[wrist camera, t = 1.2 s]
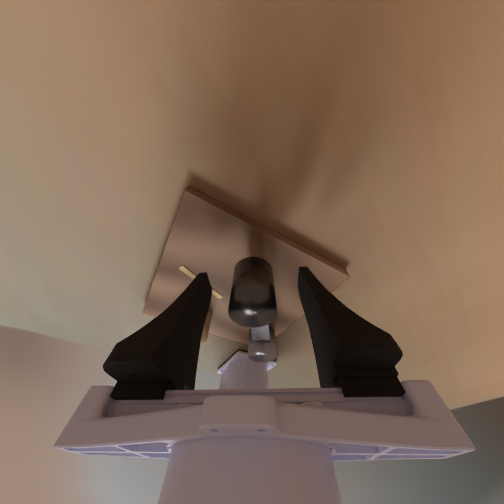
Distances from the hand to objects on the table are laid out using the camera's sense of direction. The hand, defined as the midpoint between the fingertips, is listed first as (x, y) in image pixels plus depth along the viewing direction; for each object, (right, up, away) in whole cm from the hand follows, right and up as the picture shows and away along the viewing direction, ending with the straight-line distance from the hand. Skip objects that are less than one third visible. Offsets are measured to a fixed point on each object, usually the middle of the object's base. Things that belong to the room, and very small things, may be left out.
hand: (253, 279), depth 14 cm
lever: (+1, -4, +6) cm, 7 cm away
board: (-2, -2, +8) cm, 8 cm away
